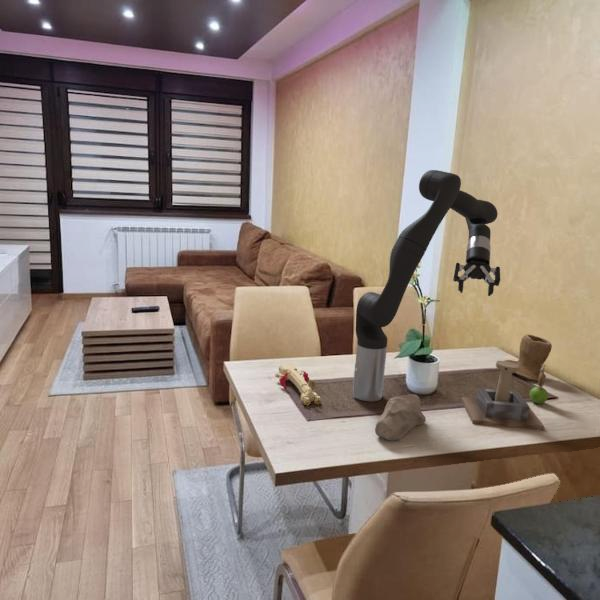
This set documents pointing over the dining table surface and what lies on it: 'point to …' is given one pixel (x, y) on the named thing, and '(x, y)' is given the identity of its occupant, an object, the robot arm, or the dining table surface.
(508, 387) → the handle
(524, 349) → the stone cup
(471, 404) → the socket block
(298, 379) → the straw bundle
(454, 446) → the dining table surface
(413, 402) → the decorative stone
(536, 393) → the green ball on stick
